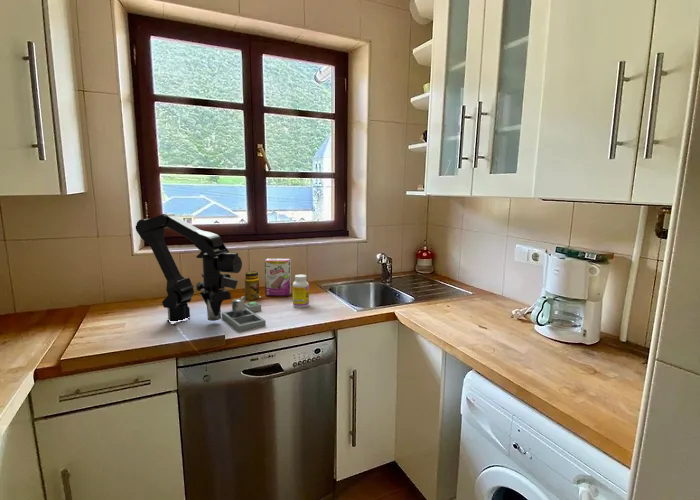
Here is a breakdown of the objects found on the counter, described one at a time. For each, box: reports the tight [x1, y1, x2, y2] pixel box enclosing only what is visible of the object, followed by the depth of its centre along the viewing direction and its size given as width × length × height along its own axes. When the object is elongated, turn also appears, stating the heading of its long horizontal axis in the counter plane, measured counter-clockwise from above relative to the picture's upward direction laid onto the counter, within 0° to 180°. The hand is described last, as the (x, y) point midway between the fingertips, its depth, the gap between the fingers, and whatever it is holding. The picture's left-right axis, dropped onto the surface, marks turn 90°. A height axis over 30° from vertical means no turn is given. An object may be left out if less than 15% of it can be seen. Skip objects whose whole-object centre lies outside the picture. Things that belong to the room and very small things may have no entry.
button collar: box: [245, 301, 262, 313], centre depth 150 cm, size 5×5×3 cm
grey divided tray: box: [221, 308, 267, 333], centre depth 137 cm, size 10×17×3 cm, turn 38°
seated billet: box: [231, 297, 246, 318], centre depth 140 cm, size 4×4×7 cm
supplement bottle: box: [292, 273, 310, 309], centre depth 157 cm, size 7×7×13 cm
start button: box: [248, 301, 257, 306], centre depth 150 cm, size 3×3×3 cm
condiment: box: [241, 270, 262, 301], centre depth 165 cm, size 7×8×12 cm
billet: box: [206, 300, 222, 322], centre depth 134 cm, size 4×4×7 cm
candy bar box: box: [264, 258, 292, 297], centre depth 172 cm, size 11×5×16 cm, turn 94°
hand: (214, 314), depth 134 cm, fingers closed on billet, 4 cm apart
